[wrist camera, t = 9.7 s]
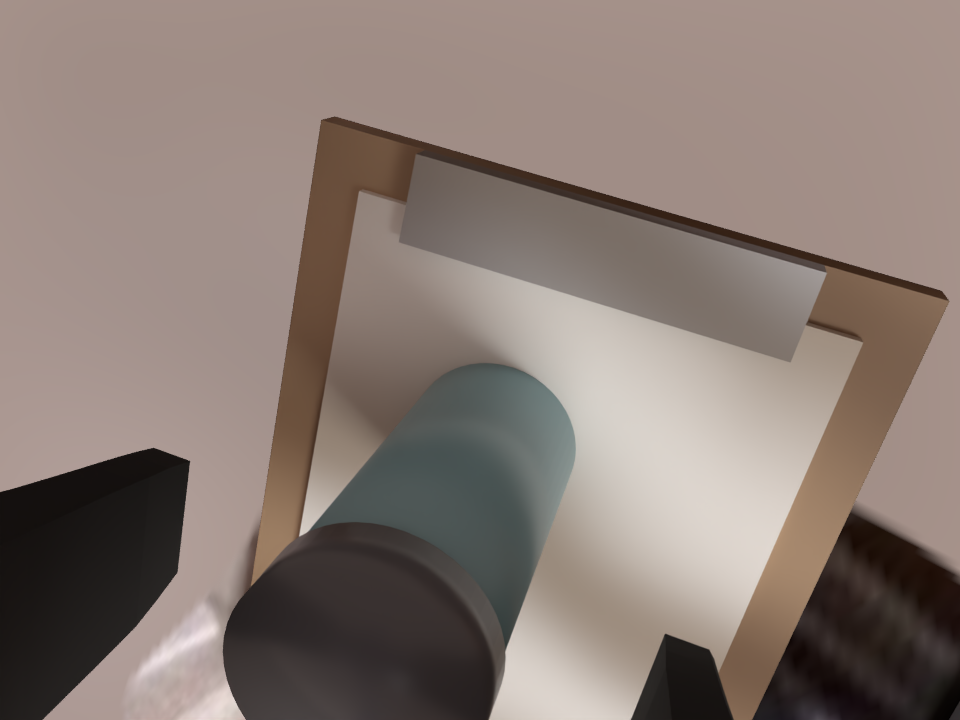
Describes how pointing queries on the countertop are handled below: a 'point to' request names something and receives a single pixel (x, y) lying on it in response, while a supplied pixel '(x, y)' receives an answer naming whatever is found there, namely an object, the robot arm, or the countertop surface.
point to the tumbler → (412, 564)
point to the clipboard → (599, 400)
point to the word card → (956, 713)
